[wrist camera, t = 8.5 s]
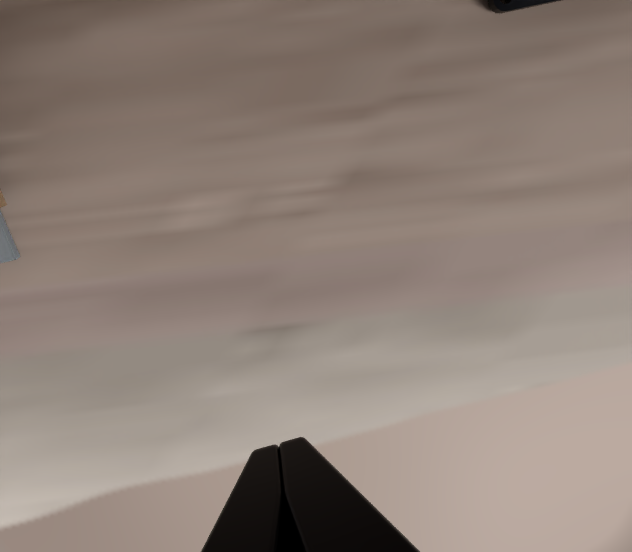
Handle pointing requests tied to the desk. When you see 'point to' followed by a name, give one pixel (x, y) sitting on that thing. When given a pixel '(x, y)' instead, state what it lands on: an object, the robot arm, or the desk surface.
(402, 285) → the desk surface
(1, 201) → the tile
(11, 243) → the mat
